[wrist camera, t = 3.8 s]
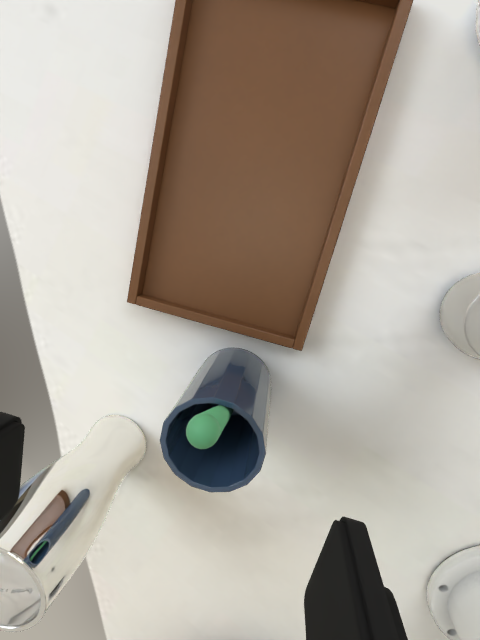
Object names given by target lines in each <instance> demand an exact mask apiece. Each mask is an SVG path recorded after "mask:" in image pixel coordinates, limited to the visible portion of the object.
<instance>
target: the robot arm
mask: <svg viewBox="0 0 480 640" xmlns="http://www.w3.org/2000/svg"><path fill="white" fill-rule="evenodd" d="M24 429H25V427H24V425H23V424H22V423H21V419H20V418H19V417H16V416H13V415H10V414H6V413H3V412H0V521H1V520H2V519H3V518H4V517H5V516H6V515H7V514H8V513H9V512H10V511H11V510H12V509H13V507H14V506H15V504H16V503H17V501H18V498H19V492H20V478H21V467H22V455H23V442H24ZM427 602H428V607H429V609H430V612H431V614H432V617H433V619H434V621H435V623H436V624H437V626H438V627H439V629H440V630H441V631H442V632H443V633H444V634H445V635H446V636H447V637H448V638H450V639H451V640H480V546H475V547H471V548H468V549H465V550H462V551H460V552H458V553H456V554H454V555H452V556H451V557H449V558H448V559H446V560H445V561H443V562H442V563H441V565H440V566H439V567H438V568H437V569H436V570H435V571H434V573H433V575H432V576H431V578H430V580H429V583H428V587H427ZM304 609H305V625H306V640H408V639H407V636H406V632H405V629H404V626H403V623H402V620H401V617H400V613H399V610H398V607H397V604H396V601H395V598H394V596H393V594H392V592H391V591H390V590H389V589H388V588H386V587H384V585H383V582H382V579H381V575H380V572H379V569H378V565H377V562H376V558H375V555H374V552H373V548H372V545H371V541H370V538H369V535H368V531H367V528H366V526H365V524H364V523H363V522H360V521H356V520H353V519H350V518H347V517H342V518H341V519H340V521H337V520H335V521H334V522H333V524H332V526H331V529H330V531H329V534H328V536H327V539H326V541H325V543H324V546H323V548H322V551H321V553H320V556H319V558H318V561H317V563H316V565H315V568H314V570H313V573H312V575H311V578H310V580H309V583H308V585H307V588H306V591H305V598H304Z"/></svg>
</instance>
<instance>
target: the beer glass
mask: <svg viewBox="0 0 480 640" xmlns="http://www.w3.org/2000/svg"><path fill="white" fill-rule="evenodd" d="M145 452H146V439H145V436H144V434H143V432H142V430H141V429H140V427H139V426H138V425H137V424H136V423H134V422H133V421H132V420H130V419H128V418H126V417H123V416H119V415H109V416H105V417H103V418H101V419H99V420H98V421H97V422H96V423H95V424H94V425H93V427H92V428H91V429H90V431H89V432H88V434H87V436H86V437H85V439H84V440H83V441H82V442H81V443H80V444H79V445H78V446H77V447H75V448H74V449H73V450H71V451H70V452H68V453H67V454H66V455H64V456H62V457H61V458H59V459H58V460H57V461H55V462H53V463H52V464H50V465H49V466H47V467H46V468H44V469H43V470H41V471H40V472H38V473H37V474H36V475H34V476H33V477H32V478H30V479H29V480H27V481H26V482H25V483H23V484H22V485H21V486H20V492H19V498H18V501H17V503H16V504H15V506H14V507H13V509H12V510H11V511H10V512H9V513H8V514H7V515H6V516H5V517H4V518H3V519H2V520H1V521H0V631H6V632H18V631H24V630H27V629H29V628H31V627H33V626H35V625H36V624H37V623H38V622H39V621H40V620H41V619H42V617H43V615H44V614H45V612H46V611H47V609H48V608H49V607H50V605H51V604H52V602H53V601H54V600H55V598H56V597H57V596H58V594H59V593H60V592H61V591H62V589H63V588H64V586H65V585H66V583H67V582H68V581H69V580H70V578H71V577H72V575H73V574H74V573H75V571H76V569H77V568H78V567H79V565H80V564H81V562H82V561H83V559H84V558H85V556H86V555H87V553H88V551H89V550H90V548H91V546H92V545H93V543H94V541H95V540H96V538H97V536H98V534H99V532H100V530H101V528H102V526H103V523H104V521H105V519H106V517H107V515H108V512H109V510H110V508H111V505H112V503H113V500H114V498H115V496H116V493H117V491H118V489H119V487H120V485H121V483H122V481H123V479H124V478H125V476H126V475H127V474H128V473H129V472H130V471H131V470H132V469H133V468H134V467H135V466H136V465H137V464H138V463H139V462H140V461H141V460H142V459H143V457H144V455H145Z"/></svg>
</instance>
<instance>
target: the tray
mask: <svg viewBox="0 0 480 640" xmlns="http://www.w3.org/2000/svg"><path fill="white" fill-rule="evenodd" d="M412 3H413V0H176V2H175V8H174V14H173V20H172V26H171V33H170V39H169V45H168V51H167V57H166V64H165V70H164V76H163V82H162V88H161V95H160V101H159V107H158V113H157V119H156V126H155V132H154V138H153V144H152V150H151V157H150V163H149V169H148V175H147V181H146V188H145V194H144V200H143V206H142V212H141V219H140V225H139V231H138V237H137V243H136V250H135V256H134V262H133V268H132V274H131V281H130V287H129V293H128V299H127V302H129V303H132V304H136V305H139V306H143V307H146V308H150V309H154V310H157V311H161V312H164V313H168V314H171V315H175V316H179V317H182V318H186V319H189V320H193V321H196V322H200V323H203V324H207V325H211V326H214V327H218V328H221V329H225V330H228V331H232V332H236V333H239V334H243V335H246V336H250V337H253V338H257V339H261V340H264V341H268V342H271V343H275V344H278V345H282V346H285V347H289V348H293V349H296V350H300V351H302V349H303V345H304V342H305V339H306V336H307V333H308V330H309V327H310V323H311V320H312V317H313V314H314V311H315V308H316V305H317V301H318V298H319V295H320V292H321V289H322V286H323V283H324V279H325V276H326V273H327V270H328V267H329V264H330V261H331V257H332V254H333V251H334V248H335V245H336V242H337V239H338V235H339V232H340V229H341V226H342V223H343V220H344V217H345V213H346V210H347V207H348V204H349V201H350V198H351V195H352V191H353V188H354V185H355V182H356V179H357V176H358V173H359V169H360V166H361V163H362V160H363V157H364V154H365V151H366V147H367V144H368V141H369V138H370V135H371V132H372V129H373V125H374V122H375V119H376V116H377V113H378V110H379V107H380V103H381V100H382V97H383V94H384V91H385V88H386V85H387V81H388V78H389V75H390V72H391V69H392V66H393V63H394V59H395V56H396V53H397V50H398V47H399V44H400V41H401V37H402V34H403V31H404V28H405V25H406V22H407V19H408V15H409V12H410V9H411V6H412Z"/></svg>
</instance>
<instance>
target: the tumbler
mask: <svg viewBox="0 0 480 640" xmlns="http://www.w3.org/2000/svg"><path fill="white" fill-rule="evenodd" d="M270 400H271V378H270V374H269V371H268V369H267V367H266V365H265V364H264V362H263V361H262V360H261V359H260V358H259V357H258V356H256V355H255V354H253V353H252V352H249V351H247V350H244V349H240V348H226V349H222V350H219V351H217V352H215V353H213V354H212V355H211V356H209V357H208V358H207V360H206V361H205V362H204V364H203V365H202V366H201V367H200V369H199V370H198V372H197V373H196V375H195V376H194V378H193V379H192V381H191V382H190V384H189V385H188V387H187V388H186V390H185V391H184V393H183V394H182V396H181V397H180V399H179V400H178V402H177V403H176V404H175V406H174V407H173V409H172V410H171V412H170V413H169V415H168V416H167V418H166V419H165V421H164V423H163V427H162V432H161V437H160V443H161V448H162V452H163V457H164V459H165V461H166V462H167V464H168V465H169V467H170V468H171V470H172V471H173V472H174V474H175V475H176V476H178V477H179V478H180V479H182V480H183V481H185V482H186V483H187V484H189V485H190V486H192V487H195V488H198V489H201V490H205V491H208V492H230V491H233V490H235V489H238V488H240V487H243V486H245V485H247V484H248V483H249V482H250V481H251V480H252V479H253V478H254V477H255V476H256V475H257V474H258V473H259V472H260V470H261V467H262V464H263V461H264V458H265V455H266V445H267V434H268V422H269V411H270ZM218 405H222V406H225V407H229V408H232V409H233V413H232V415H231V416H230V418H229V420H228V422H227V424H226V426H225V427H224V429H223V431H222V433H221V435H220V437H219V438H218V440H217V442H216V443H215V444H214V445H213V446H211V447H209V448H206V449H198V448H196V447H194V446H192V445H191V444H190V443H189V441H188V439H187V436H186V428H187V425H188V423H189V421H190V420H191V419H192V418H193V417H194V416H195V415H197V414H200V413H202V412H204V411H207V410H209V409H211V408H213V407H216V406H218Z"/></svg>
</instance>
